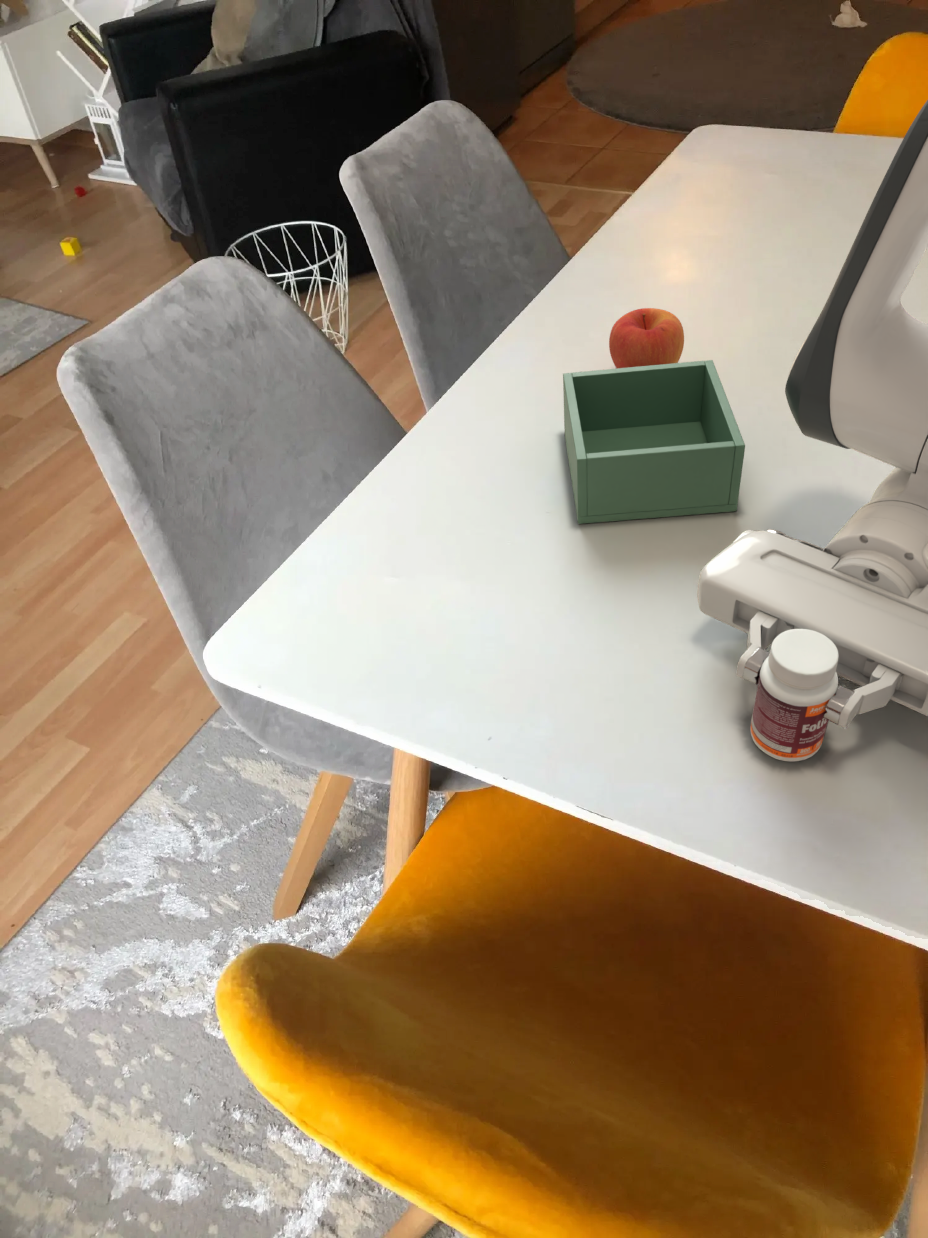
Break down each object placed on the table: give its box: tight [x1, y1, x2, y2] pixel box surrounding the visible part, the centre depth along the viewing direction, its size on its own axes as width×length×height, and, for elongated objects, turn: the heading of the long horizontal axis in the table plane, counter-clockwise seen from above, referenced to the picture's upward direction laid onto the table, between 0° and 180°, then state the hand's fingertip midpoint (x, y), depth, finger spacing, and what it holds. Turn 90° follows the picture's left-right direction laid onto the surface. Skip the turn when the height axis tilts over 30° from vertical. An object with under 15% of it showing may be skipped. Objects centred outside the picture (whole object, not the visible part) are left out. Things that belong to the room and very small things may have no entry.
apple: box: [608, 307, 685, 369], centre depth 96 cm, size 7×7×8 cm
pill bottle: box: [749, 629, 839, 762], centre depth 62 cm, size 5×5×8 cm
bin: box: [562, 359, 746, 525], centre depth 85 cm, size 14×14×7 cm
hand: (790, 695), depth 61 cm, fingers closed on pill bottle, 5 cm apart
